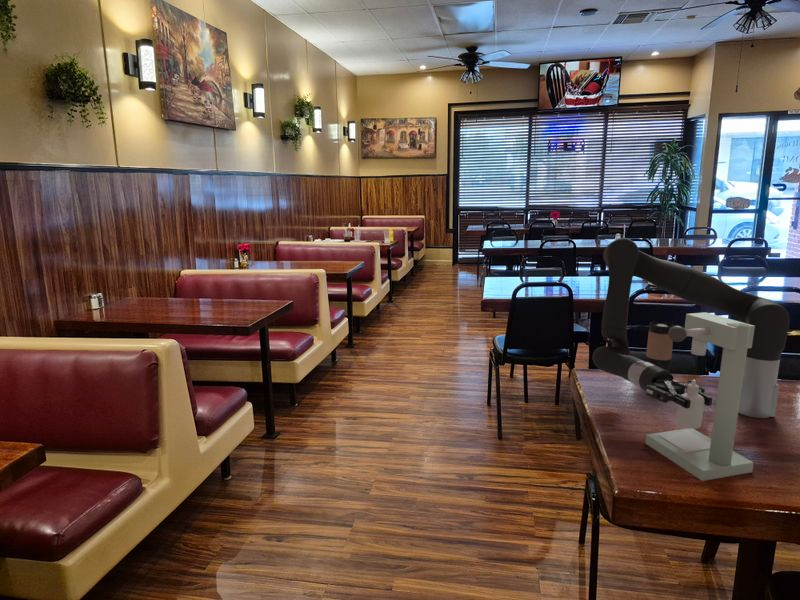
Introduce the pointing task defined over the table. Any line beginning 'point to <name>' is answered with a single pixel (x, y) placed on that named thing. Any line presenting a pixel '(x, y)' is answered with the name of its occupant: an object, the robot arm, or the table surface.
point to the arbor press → (692, 446)
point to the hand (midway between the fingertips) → (699, 403)
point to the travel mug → (659, 345)
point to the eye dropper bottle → (691, 408)
